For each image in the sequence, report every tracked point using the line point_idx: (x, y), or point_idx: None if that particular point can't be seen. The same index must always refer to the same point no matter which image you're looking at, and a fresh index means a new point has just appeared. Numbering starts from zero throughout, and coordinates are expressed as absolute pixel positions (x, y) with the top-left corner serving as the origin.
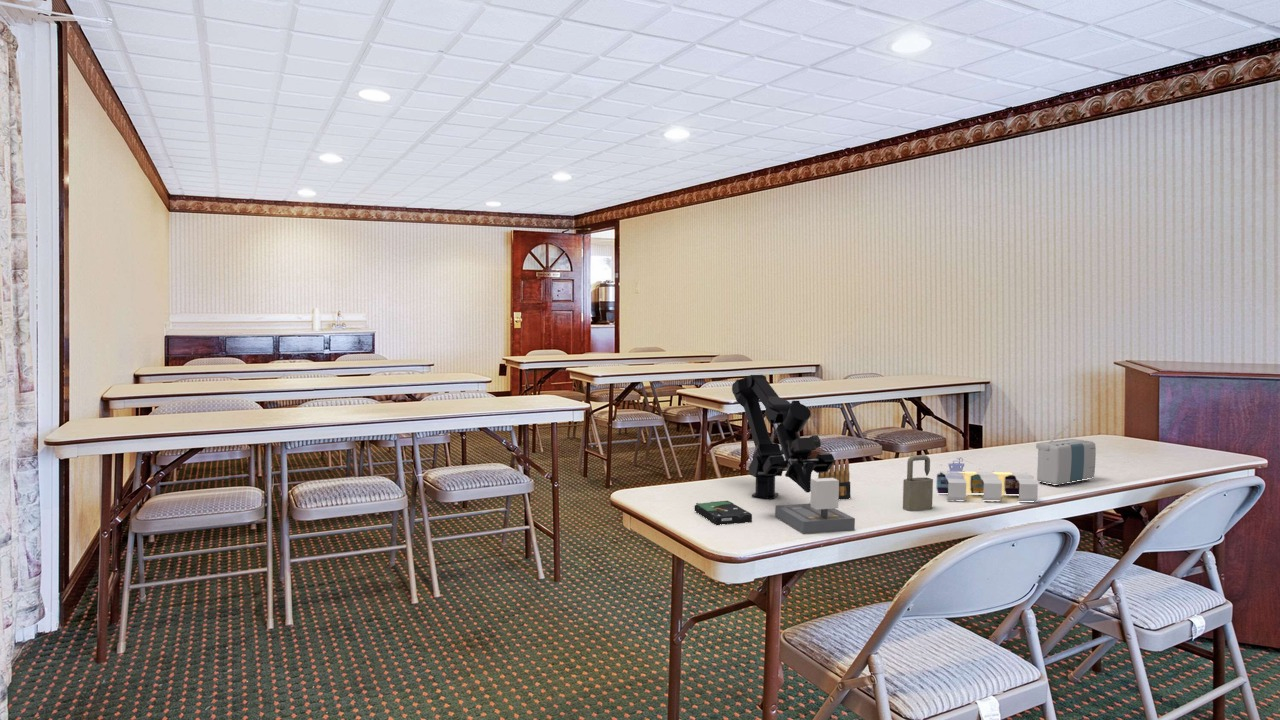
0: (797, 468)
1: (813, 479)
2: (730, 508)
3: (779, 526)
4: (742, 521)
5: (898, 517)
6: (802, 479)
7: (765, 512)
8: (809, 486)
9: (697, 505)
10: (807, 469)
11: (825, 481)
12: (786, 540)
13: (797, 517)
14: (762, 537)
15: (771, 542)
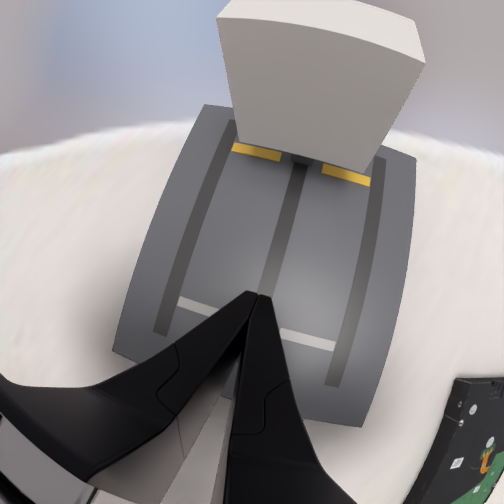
0: (323, 489)
1: (413, 47)
2: (465, 465)
3: (419, 291)
4: (481, 378)
5: (24, 189)
6: (283, 369)
7: (328, 471)
8: (241, 305)
9: (487, 499)
10: (138, 425)
11: (349, 1)
12: (462, 167)
13: (407, 212)
14: (499, 221)
15: (493, 178)
